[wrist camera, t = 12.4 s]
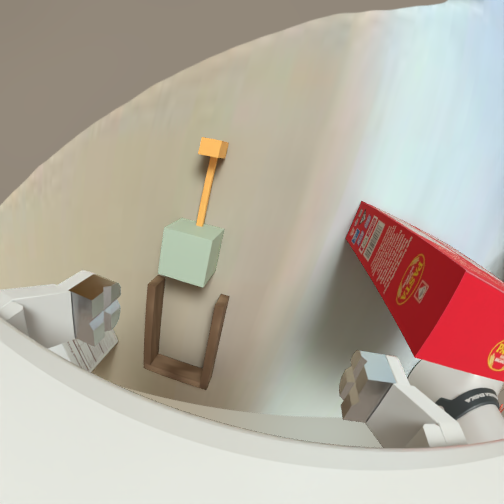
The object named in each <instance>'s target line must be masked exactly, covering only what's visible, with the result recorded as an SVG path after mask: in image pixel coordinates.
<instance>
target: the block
mask: <svg viewBox="0 0 504 504" xmlns="http://www.w3.org/2000/svg"><path fill="white" fill-rule="evenodd" d="M228 144H229V143H227V142H224V141H220V140H215V139H210V138H204V137H202V139H201V143H200V148H199V152H198V154H201V155H206V156H211V157H210V161H209V166H208V170H207V175H206V179H205V184H204V189H203V193H202V198H201V203H200V208H199V213H198V218H197V222H196V221H192V220H189V219H185V218H181V219H179V220H177V221H175V222H174V223H172V224H170V225H168V226H166V227H164V233H163V240H162V247H161V254H160V262H159V270H158V274H161V275H164V276H167V277H170V278H174V279H177V280H180V281H183V282H186V283H189V284H193V285H196V286H199V287H204V286H205V284H206V283H207V282H208V280H209V279H210V277H211V276H212V275H213V273H214V272H215V271H216V266H217V262H218V257H219V252H220V248H221V243H222V238H223V234H224V229H223V228H219V227H215V226H211V225H208V224H204V220H205V215H206V210H207V205H208V201H209V196H210V191H211V187H212V182H213V178H214V173H215V169H216V164H217V160H218V158H225V156H226V152H227V148H228Z"/></svg>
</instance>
